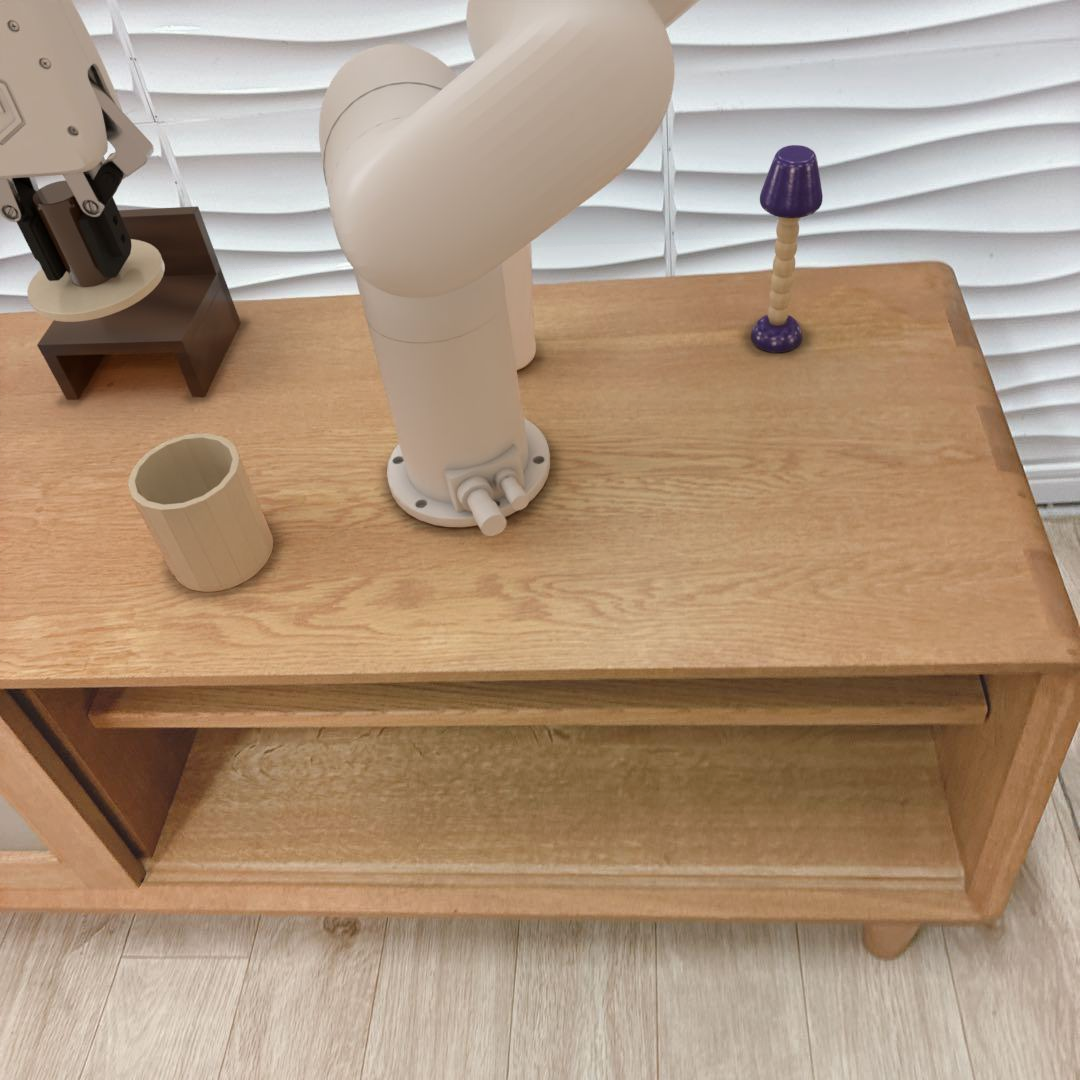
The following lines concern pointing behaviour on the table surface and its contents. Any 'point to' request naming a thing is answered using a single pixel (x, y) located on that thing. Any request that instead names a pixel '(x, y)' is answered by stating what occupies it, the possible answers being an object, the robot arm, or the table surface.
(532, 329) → the drinking glass
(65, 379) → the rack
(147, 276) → the lid
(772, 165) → the toy lamp
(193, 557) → the pot
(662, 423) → the table surface
